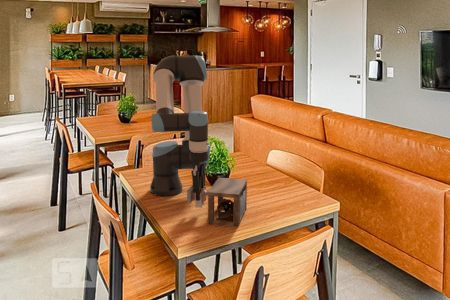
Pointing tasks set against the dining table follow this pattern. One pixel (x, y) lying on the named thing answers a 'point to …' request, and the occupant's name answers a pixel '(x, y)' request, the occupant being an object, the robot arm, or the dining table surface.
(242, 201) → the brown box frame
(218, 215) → the pottery mug
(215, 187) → the walnut stool
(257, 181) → the dining table surface
